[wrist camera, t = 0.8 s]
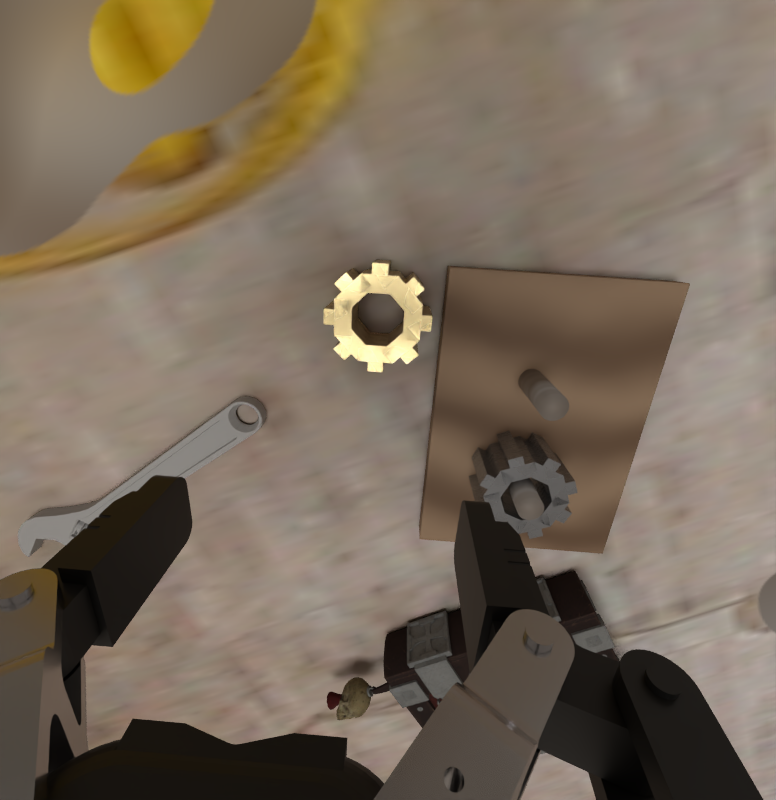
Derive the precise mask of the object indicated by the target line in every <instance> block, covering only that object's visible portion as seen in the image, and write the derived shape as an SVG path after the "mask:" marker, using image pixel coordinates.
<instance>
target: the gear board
mask: <svg viewBox="0 0 776 800" xmlns="http://www.w3.org/2000/svg"><path fill="white" fill-rule="evenodd" d="M689 286H690V284H689V283H683V282H677V281H666V280H651V279H636V278H621V277H606V276H590V275H575V274H560V273H545V272H530V271H515V270H500V269H485V268H470V267H455V266H448V268H447V278H446V287H445V296H444V305H443V314H442V323H441V332H440V341H439V351H438V360H437V369H436V378H435V387H434V396H433V405H432V414H431V424H430V433H429V442H428V451H427V460H426V469H425V478H424V487H423V497H422V506H421V515H420V524H419V533H420V539H425V540H438V541H450V542H455V539H456V533H457V527H458V521H459V514H460V508H461V503H462V501H463V500H466V501H475V500H474V496H473V492H472V488H471V484H470V480H469V476H471V475H475V474H476V471H475V468H474V464H473V461H472V456H473V454H474V453H475V451H476V450H477V448H478V447H479V448H481V449H483V450H485V451H486V449H487V448H488V446H489V445H490V444H492V443H496V442H498V439H497V435H496V434H499V433H503V432H506V431H510V433H511V435H512V437H513V438H514V437H517V436H521V437H523V438H525V439H528V437H529V436H530V435H531V433H534V434H537V435H539V436H541V437H543V438H544V440H545V441H546V442H547V444H548V445H549V447H550V448H551V450H552V451H553V453H556V454H557V455H558V457H559V458H560V460H561V461H562V463H563V464H564V465H565V467H566V468H567V470H568V471H569V473H570V474H571V476H572V477H573V478H574V480H575V482H576V487H577V492H578V493H575V494H571V495H568V498H569V502H570V503H569V504H568V505H567V506H568V507H569V509H570V511H571V512H572V514H571V515H570V516H569V518H568V519H567V520H566V521H565V523H561V522H559V521H557V520H555V522H554V523H553V524H552V525H551V527H546V528H542V533H543V536H541V537H536V538H532V539H529V537H528V534H527V532H525V533H521V534H519V535H520V537H521V540H522V542H523V545H524V547H526V548H539V549H552V550H565V551H577V552H590V553H603V550H604V547H605V544H606V541H607V538H608V535H609V532H610V529H611V526H612V523H613V520H614V517H615V514H616V510H617V507H618V504H619V501H620V498H621V495H622V492H623V489H624V486H625V483H626V480H627V477H628V473H629V470H630V467H631V464H632V461H633V458H634V455H635V452H636V449H637V446H638V443H639V440H640V437H641V433H642V430H643V427H644V424H645V421H646V418H647V415H648V412H649V409H650V406H651V403H652V400H653V396H654V393H655V390H656V387H657V384H658V381H659V378H660V375H661V372H662V369H663V366H664V363H665V360H666V356H667V353H668V350H669V347H670V344H671V341H672V338H673V335H674V332H675V329H676V326H677V323H678V319H679V316H680V313H681V310H682V307H683V304H684V301H685V298H686V295H687V292H688V289H689ZM531 478H532V477H531ZM531 478H527V479H523V480H519V481H515V482H511V483H510V485H509V486H508V488H507V489H508V490H509V492H510V495H511V497H512V500H513V502H514V505H515V507H516V510H517V512H518V515H519V516H520V517H521V518H523V519H525V520H534V519H537V518H538V517H540V516H541V515H542V514H543V512H544V505H543V503H542V501H541V499H540V497H539V495H538V493H537V491H536V489H535V487H534V485H533V483H532V481H531Z"/></svg>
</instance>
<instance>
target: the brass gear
mask: <svg viewBox="0 0 776 800" xmlns="http://www.w3.org/2000/svg"><path fill="white" fill-rule="evenodd" d="M390 270H391V260H375V261H374V262H373V263H372V269H366V270H365V271H364V272H362V273H361V274H360V275H359V273H358V272H357V271H356V270H355V269H354V268H353V269H351V270H349V271H348V272H346V273H345V274H344V275H343V276H342V277H341V278H340V279H339V280H338V281H337V282H335V283H334V284H335V285H336V286H337V287H338V288H339V289H340V290H341V291H342V292H341V293H340V294H339V295H338V296H337V297H336V298H335V299H334V300H333V301H332V302H331V303H330V304H329V305H327V306H326V307H325V308H324V324H327V325H334V336H335V337H336V338H337V339H338V340H339V342H338V343H337V345H336V346H335V348H334V350H335V351H336V352H337V353H338V354H339V355H340V356H341V357H342V358H343V359H344V360H345V359H346V358H347V357H348V356H349V355H350V354H352V355H353V356H354V357H355V358H356V359H357V360H358V361H367V362H368V371H372V372H383V366H384V363H394V362H395V361H396V360H397V359H399V358H400V357H401V359H402V360H403V361H404V362H405V363H406V364H408V363H409V362H410V361H412V360H413V359H414V358H415V357H417V356H418V345H417V343H418V342H419V341H420V331H428V332H431V325H432V313H431V310H430V307H429V306H423V303H422V299H421V296H420V295H419V294H420V293H421V292H422V291H423V290H424V287H423V284H422V282H421V281H420V280H419V278H418V277H417V276H416V275H415V274H414V272H412V273H411V274H410V275H409V276H408V277H407V278H405V277H404V276H403V274H402V273H401V272H400V271H390ZM367 293H380V294H390V295H391V296H392V297H393V298H394V299H395V301H396V302H397V303H398V304H399V305H400V306H401V308H402V309H403V310H404V320H403V322H402V323H401V324H400V325H398V326H397V327H396V328H395V329H394V330H393V331H392V332H390V333H376V332H370V331H369V330H368V329H367V327H366V326H365V325H364V324H363V323H362V322H361V321H360V320H359V319H358V303H359V300H360V299H362V298H363V297H364V296H365V295H366V294H367Z"/></svg>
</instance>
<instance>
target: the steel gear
mask: <svg viewBox="0 0 776 800" xmlns="http://www.w3.org/2000/svg"><path fill="white" fill-rule="evenodd" d="M496 435H497V439H498V442H496V443H492V444H490V445H489V446H488V448H487V449H486V451H485V450H483V449H481V448H479V447H478V448H477V450H476V451H475V453H474V454H473V456H472V461H473V464H474V468H475V471H476V474H475V475H471V476H469V480H470V484H471V488H472V492H473V496H474V500H475V501H478V502H489V503H490V505H491V508H492V512H493V515H494V518H495V521H500V522H508V523H509V524H510V525H511V526H512V527H513V528H514V530H515V531H516V532H517V533H518V534H521V533H525V532H527V534H528V537H529V539H532V538H536V537H541V536H543V533H542V528H546V527H551V525H552V524H553V523H554V522H555V520H557V521H559V522H561V523H565V521H566V520H567V519H568V518H569V516H570V515H571V514H572V512H571V511H570V509H569V507H568V506H567V505H568V504H569V503H570V502H569V498H568V495H571V494H575V493H578V492H577V487H576V482H575V480H574V478H573V477H572V476H571V474H570V473H569V471H568V470H567V468H566V467H565V465H564V464H563V463H562V461H561V460H560V458H559V457H558V455H557V454H556V453H553V451H552V450H551V448H550V447H549V445H548V444H547V442H546V441H545V440H544V438H543V437H541V436H539V435H537V434H534V433H531V435H530V436H529V437H528V439H525V438H523V437H521V436H517V437H514V438H513V437H512V435H511V433H510V431H506V432H503V433H499V434H496ZM531 477H532V478H531ZM527 478H531V481H532V483H533V485H534V487H535V489H536V491H537V493H538V495H539V497H540V499H541V501H542V503H543V505H544V512H543V514H542V515H541V516H540V517H538V518H537V519H534V520H525V519H523V518H521V517H520V516H519V515H518V512H517V510H516V507H515V505H514V502H513V500H512V497H511V495H510V492H509V490H508V489H507V488H508V486H509V485H510V483H511V482H515V481H519V480H523V479H527Z"/></svg>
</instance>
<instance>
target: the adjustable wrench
mask: <svg viewBox="0 0 776 800" xmlns="http://www.w3.org/2000/svg"><path fill="white" fill-rule="evenodd" d="M243 404H244V405H248V406H250V407H252V408H253V409H254V410H255V411H256V412H257V414H258V420H257V422H256V423H254V424H252V425H248V424H245V423H243V422H241V421H240V420H239V419H238V417H237V415H236V410H237V408H238V407H239V406H240V405H243ZM265 420H266V410H265V408H264V406H263V404H262V403H261V402H260V401H258V400H257V399H255V398H253V397H248V396H245V397H240V398H238V399H236V400H235V401H234V402H232V403H231V404H230V405H228V406H227V407H226V408H224V409H223V410H221V411H220V412H219V413H217V414H216V415H215V416H213V417H212V418H211V419H209V420H208V421H207V422H205V423H204V424H202V425H201V426H200V427H198V428H197V429H196V430H194V431H193V432H192V433H190V434H189V435H188V436H186V437H185V438H183V439H182V440H181V441H179V442H178V443H177V444H175V445H174V446H173V447H171V448H170V449H169V450H167V451H166V452H164V453H163V454H162V455H160V456H159V457H158V458H156V459H155V460H154V461H152V462H151V463H150V464H148V465H147V466H145V467H144V468H143V469H141V470H140V471H139V472H137V473H136V474H135V475H133V476H132V477H131V478H129V479H128V480H127V481H125V482H124V483H122V484H121V485H120V486H118V487H117V488H116V489H114V490H113V491H112V492H110V493H109V494H108V495H106V496H105V497H103V498H101V499H99V500H97V501H94V502H91V503H87V504H82V505H77V506H69V507H57V508H47V509H43V510H41V511H39V512H38V513H36V514H35V515H33V516H32V517H31V518H29V519H28V520H27V521H25V522H24V523H23V524H22V525H21V527H20V529H19V531H18V542H19V546H20V548H21V550H22V552H23V553H24V554H25V555H26V556H28V557H29V556H31V555H32V554H33V553H34V552H35V551H37V550H38V549H39V548H40V547H41V546H42V543H43V540H44V539H50V540H56V541H58V542H60V543H62V544H64V545H67V544H68V543H69V542H70V541H71V540H72V539H73V538H74V537H75V536H77V535H78V534H79V533H80V532H81V531H82V530H83V529H84V528H87V525H88V524H90V523H91V522H92V521H93V520H94V519H95V518H96V517H99V514H100V513H102V512H103V511H104V510H105V509H106V508H107V507H108V506H109V505H110V504H111V503H112V502H114V501H115V500H117V499H119V498H121V497H123V496H125V495H126V494H128V493H130V492H132V491H138V490H139V489H140V488H141V487H142V486H143V485H144V484H145V483H146V482H147V481H148V480H149V479H150V478H151V477H152V476H154V475H163V476H175V477H183V478H184V479H185V478H186V477H188V476H189V475H191V474H192V473H194V472H195V471H197V470H199V469H200V468H202V467H203V466H205V465H206V464H208V463H209V462H211V461H212V460H214V459H216V458H217V457H219V456H220V455H222V454H223V453H225V452H226V451H228V450H229V449H231V448H232V447H234V446H236V445H237V444H239V443H240V442H242V441H243V440H245V439H246V438H248V437H249V436H251V435H253V434H254V433H256V432H257V431H258V430H259V429H260V427H261V426H262V425H263V424H264V422H265Z"/></svg>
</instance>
